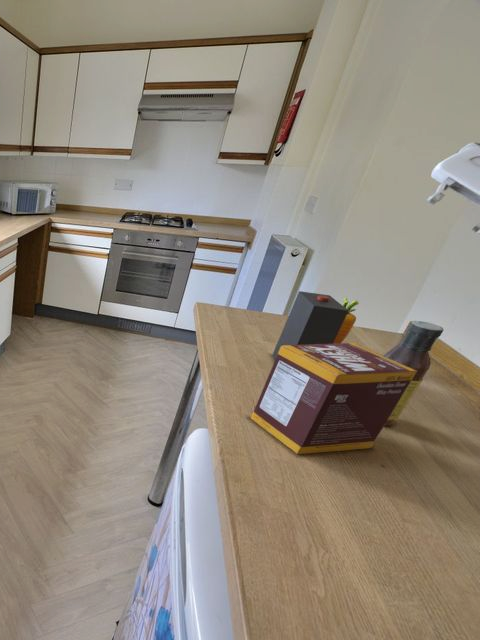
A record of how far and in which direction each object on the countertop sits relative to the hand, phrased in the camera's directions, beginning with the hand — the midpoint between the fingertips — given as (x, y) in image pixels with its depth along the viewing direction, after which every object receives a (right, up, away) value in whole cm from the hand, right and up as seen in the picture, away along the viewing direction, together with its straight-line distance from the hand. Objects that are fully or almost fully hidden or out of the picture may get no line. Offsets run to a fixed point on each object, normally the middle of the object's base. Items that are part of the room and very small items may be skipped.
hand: (452, 215), depth 83 cm
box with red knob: (-16, -33, +13) cm, 39 cm away
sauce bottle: (-20, -41, -3) cm, 45 cm away
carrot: (-6, -29, +23) cm, 37 cm away
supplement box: (-37, -42, -9) cm, 57 cm away
